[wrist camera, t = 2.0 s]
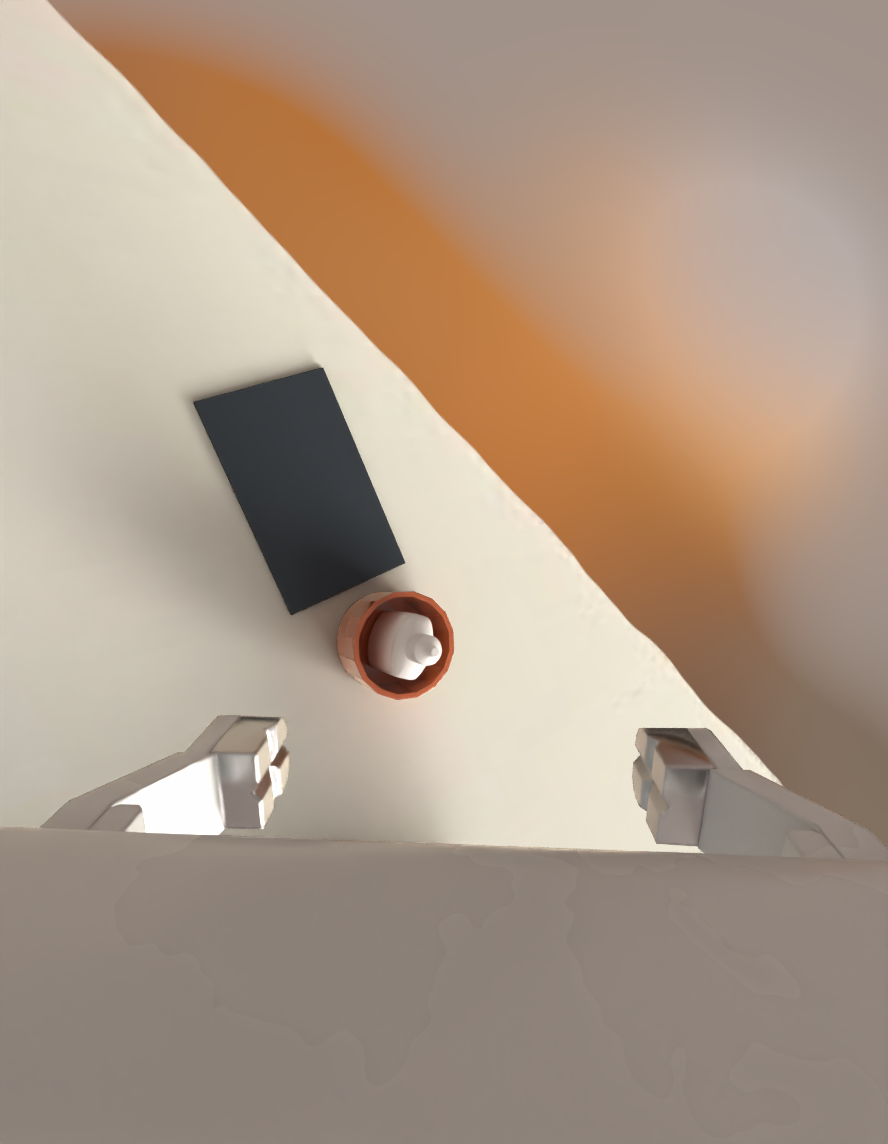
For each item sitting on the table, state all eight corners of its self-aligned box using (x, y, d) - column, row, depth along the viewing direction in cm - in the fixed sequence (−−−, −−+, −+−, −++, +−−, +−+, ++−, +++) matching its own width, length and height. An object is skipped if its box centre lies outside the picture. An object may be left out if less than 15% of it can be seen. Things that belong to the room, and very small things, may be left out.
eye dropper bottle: (349, 646, 50) (391, 660, 39) (389, 603, 52) (440, 605, 41) (380, 677, 51) (430, 699, 40) (418, 634, 53) (476, 644, 42)
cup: (320, 617, 49) (336, 620, 44) (406, 576, 53) (430, 575, 48) (360, 705, 51) (380, 719, 45) (441, 660, 54) (468, 667, 49)
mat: (193, 403, 45) (193, 401, 45) (322, 368, 50) (323, 367, 50) (290, 615, 48) (291, 615, 48) (404, 563, 53) (405, 562, 53)
